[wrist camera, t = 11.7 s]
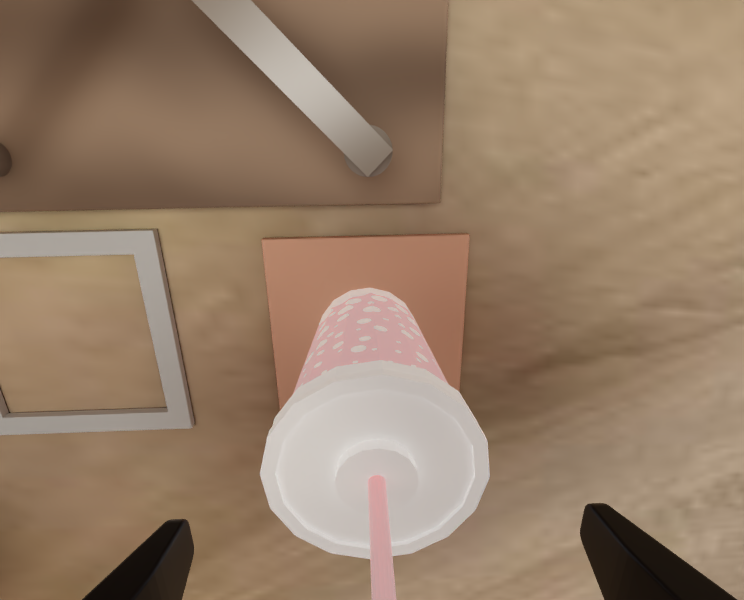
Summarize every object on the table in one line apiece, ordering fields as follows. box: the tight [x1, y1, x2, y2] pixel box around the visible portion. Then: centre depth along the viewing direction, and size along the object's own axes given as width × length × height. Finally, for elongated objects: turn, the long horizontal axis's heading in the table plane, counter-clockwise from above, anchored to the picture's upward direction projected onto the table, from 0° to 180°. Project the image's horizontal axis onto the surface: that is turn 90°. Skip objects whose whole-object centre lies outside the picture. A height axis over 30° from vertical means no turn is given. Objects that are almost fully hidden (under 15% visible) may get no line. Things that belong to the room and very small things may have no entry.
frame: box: [0, 229, 195, 435], centre depth 19 cm, size 10×10×1 cm
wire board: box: [0, 0, 448, 212], centre depth 13 cm, size 11×20×6 cm, turn 91°
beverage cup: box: [260, 288, 490, 600], centre depth 13 cm, size 6×6×14 cm
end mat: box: [262, 233, 470, 410], centre depth 20 cm, size 9×9×1 cm
